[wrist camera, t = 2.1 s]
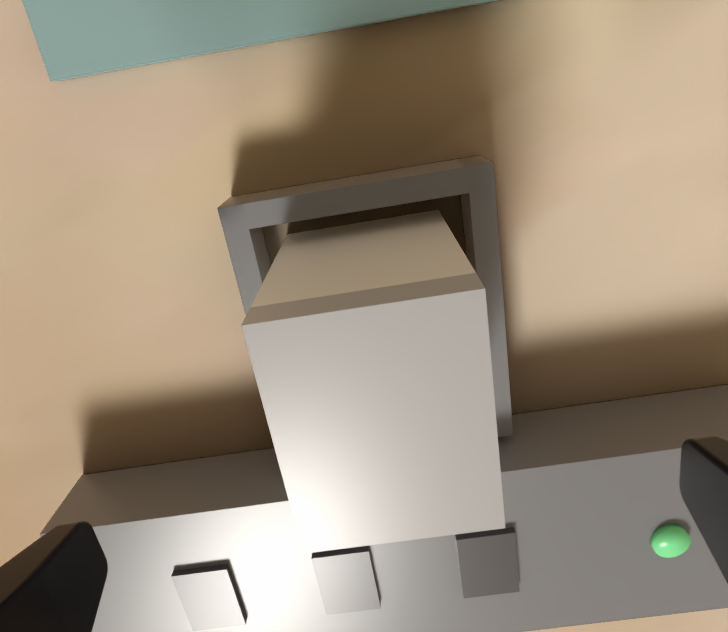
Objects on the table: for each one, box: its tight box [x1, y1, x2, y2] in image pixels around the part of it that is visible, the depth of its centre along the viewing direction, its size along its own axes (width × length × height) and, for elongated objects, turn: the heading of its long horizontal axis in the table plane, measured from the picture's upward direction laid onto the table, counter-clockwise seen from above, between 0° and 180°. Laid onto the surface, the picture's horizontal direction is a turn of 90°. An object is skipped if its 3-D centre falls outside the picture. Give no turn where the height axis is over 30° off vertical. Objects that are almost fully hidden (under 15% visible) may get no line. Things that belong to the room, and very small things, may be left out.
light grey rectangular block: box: [241, 210, 505, 554], centre depth 13 cm, size 4×5×6 cm
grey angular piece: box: [40, 155, 728, 632], centre depth 15 cm, size 20×14×3 cm
